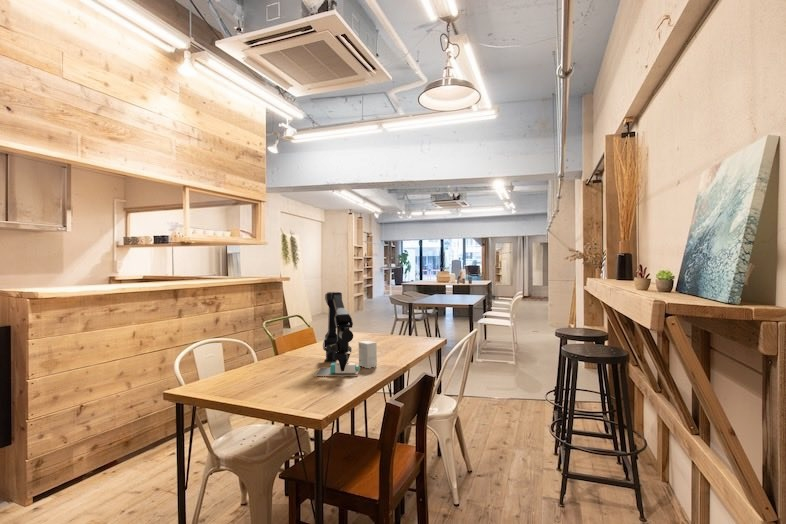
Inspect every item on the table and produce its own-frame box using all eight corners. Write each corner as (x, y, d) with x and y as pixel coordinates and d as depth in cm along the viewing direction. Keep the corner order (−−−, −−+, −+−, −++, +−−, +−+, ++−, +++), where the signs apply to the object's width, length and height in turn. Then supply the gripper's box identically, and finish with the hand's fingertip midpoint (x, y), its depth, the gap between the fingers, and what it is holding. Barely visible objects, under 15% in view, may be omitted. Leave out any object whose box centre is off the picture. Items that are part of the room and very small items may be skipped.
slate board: (320, 368, 222) (319, 367, 222) (360, 368, 221) (360, 367, 221) (313, 376, 206) (313, 375, 206) (357, 376, 206) (357, 375, 206)
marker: (331, 371, 213) (331, 362, 213) (359, 371, 212) (359, 362, 212) (330, 373, 209) (330, 364, 209) (358, 373, 208) (358, 364, 208)
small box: (377, 367, 224) (376, 342, 224) (367, 369, 220) (367, 344, 220) (368, 364, 231) (367, 340, 230) (358, 366, 226) (358, 341, 226)
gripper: (330, 335, 220) (330, 365, 220) (322, 342, 201) (323, 375, 202) (351, 335, 220) (351, 365, 220) (346, 342, 201) (346, 375, 201)
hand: (343, 370), depth 211 cm, fingers closed on marker, 4 cm apart
